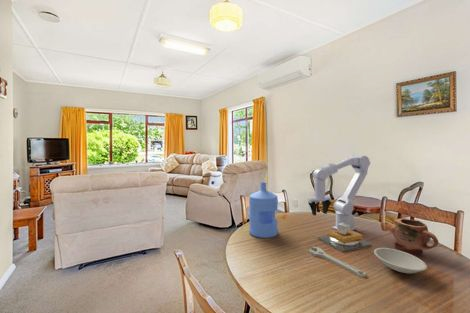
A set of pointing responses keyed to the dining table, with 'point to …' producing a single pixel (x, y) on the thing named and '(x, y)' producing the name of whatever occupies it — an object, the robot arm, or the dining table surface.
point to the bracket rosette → (345, 241)
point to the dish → (400, 260)
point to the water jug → (263, 213)
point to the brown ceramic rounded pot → (412, 236)
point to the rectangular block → (344, 229)
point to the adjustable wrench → (336, 261)
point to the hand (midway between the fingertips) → (319, 214)
